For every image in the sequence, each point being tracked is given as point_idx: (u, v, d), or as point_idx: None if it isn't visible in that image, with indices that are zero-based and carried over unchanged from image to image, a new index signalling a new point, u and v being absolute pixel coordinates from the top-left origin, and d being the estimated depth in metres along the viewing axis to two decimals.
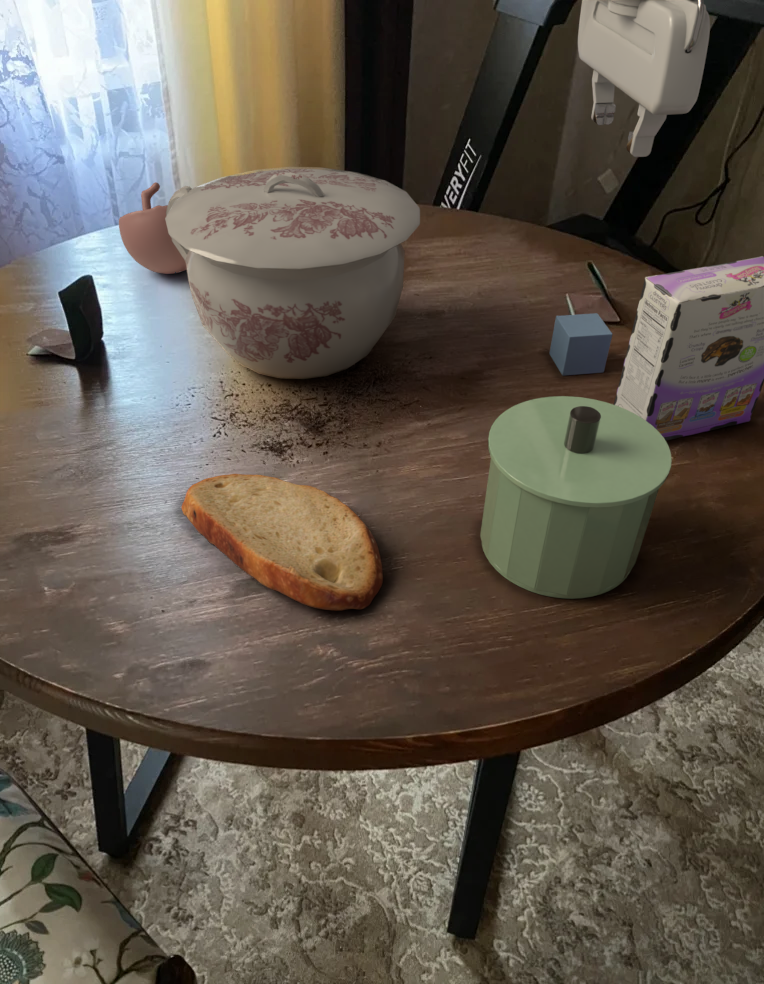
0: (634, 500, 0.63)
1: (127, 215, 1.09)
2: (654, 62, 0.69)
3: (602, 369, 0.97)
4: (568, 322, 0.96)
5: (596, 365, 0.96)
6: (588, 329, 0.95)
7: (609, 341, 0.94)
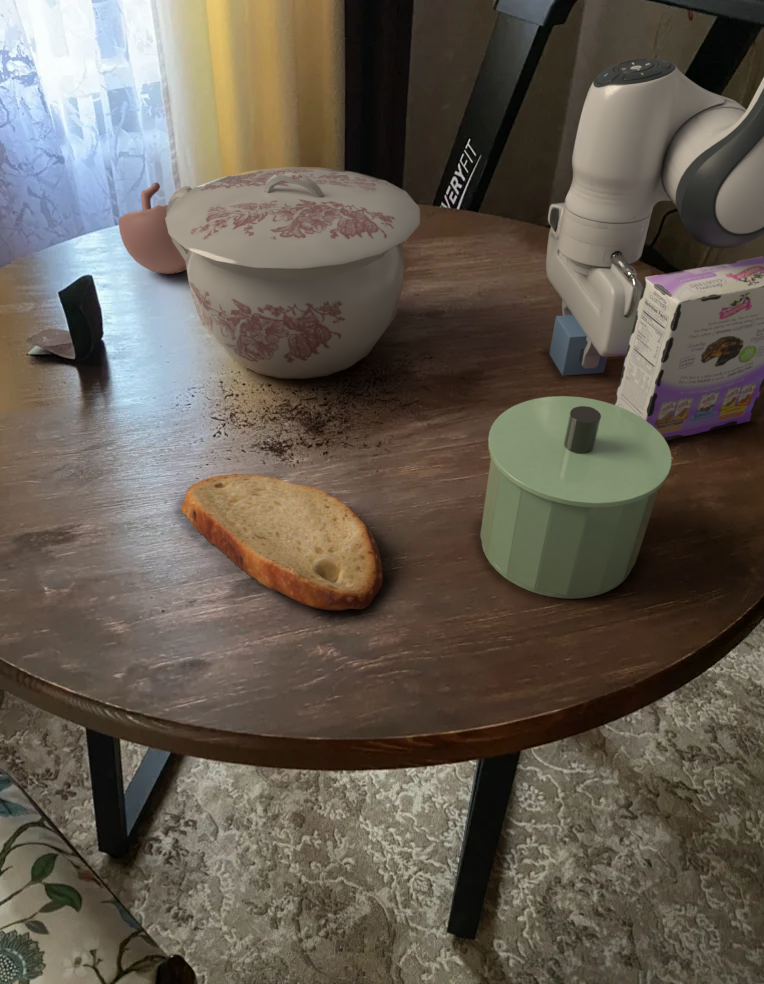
0: (634, 500, 0.63)
1: (127, 215, 1.09)
2: (601, 319, 0.86)
3: (602, 369, 0.97)
4: (568, 323, 0.96)
5: None
6: None
7: None
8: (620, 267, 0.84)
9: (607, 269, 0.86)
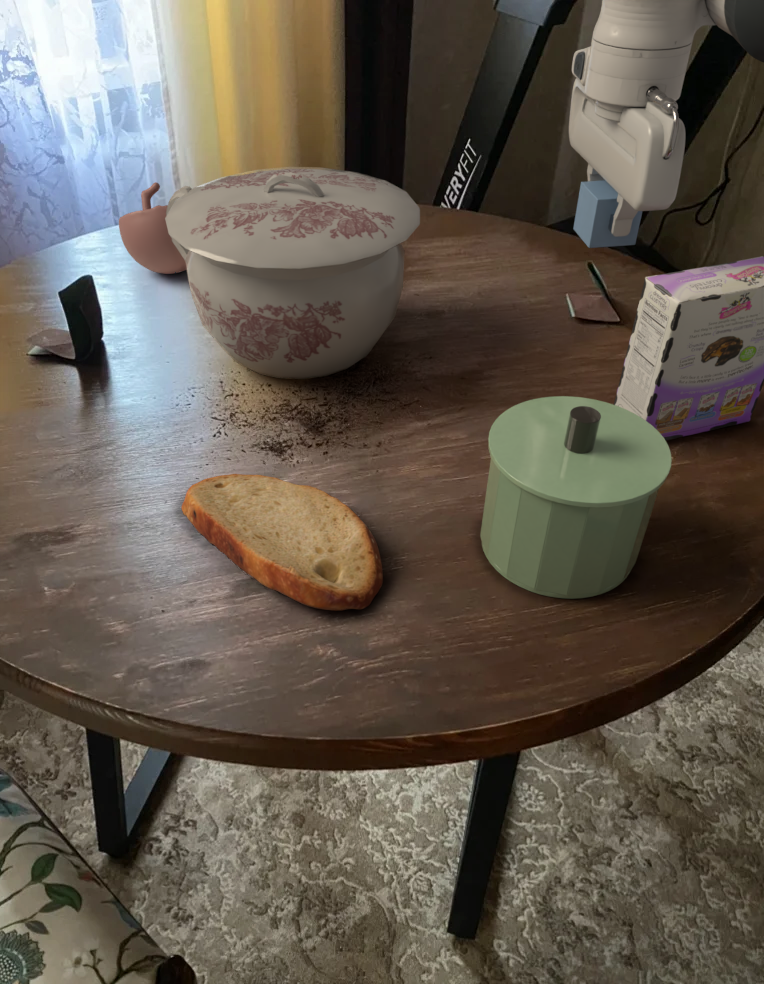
0: (634, 500, 0.63)
1: (127, 215, 1.09)
2: (636, 166, 0.76)
3: (633, 240, 0.86)
4: (594, 187, 0.85)
5: (627, 235, 0.86)
6: None
7: None
8: (658, 101, 0.73)
9: (642, 109, 0.76)
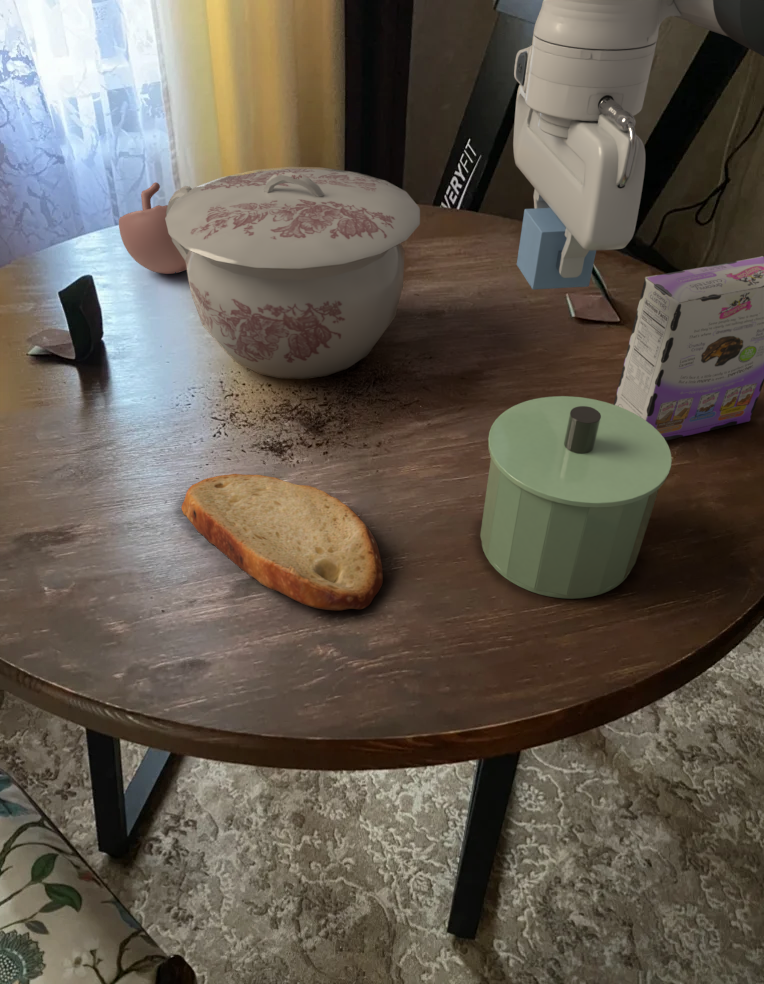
0: (634, 500, 0.63)
1: (127, 215, 1.09)
2: (585, 194, 0.61)
3: (587, 281, 0.71)
4: (540, 216, 0.70)
5: None
6: None
7: None
8: (611, 115, 0.58)
9: (593, 124, 0.61)
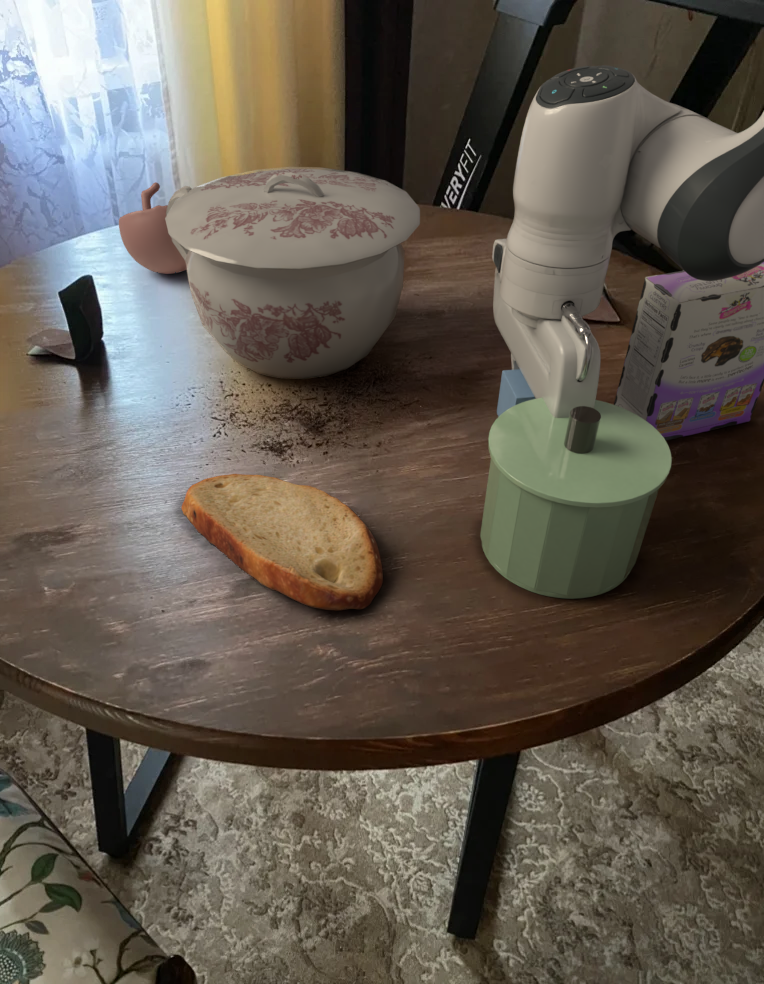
0: (634, 500, 0.63)
1: (127, 215, 1.09)
2: (550, 382, 0.71)
3: None
4: (515, 379, 0.81)
5: None
6: None
7: None
8: (571, 321, 0.69)
9: (557, 322, 0.71)
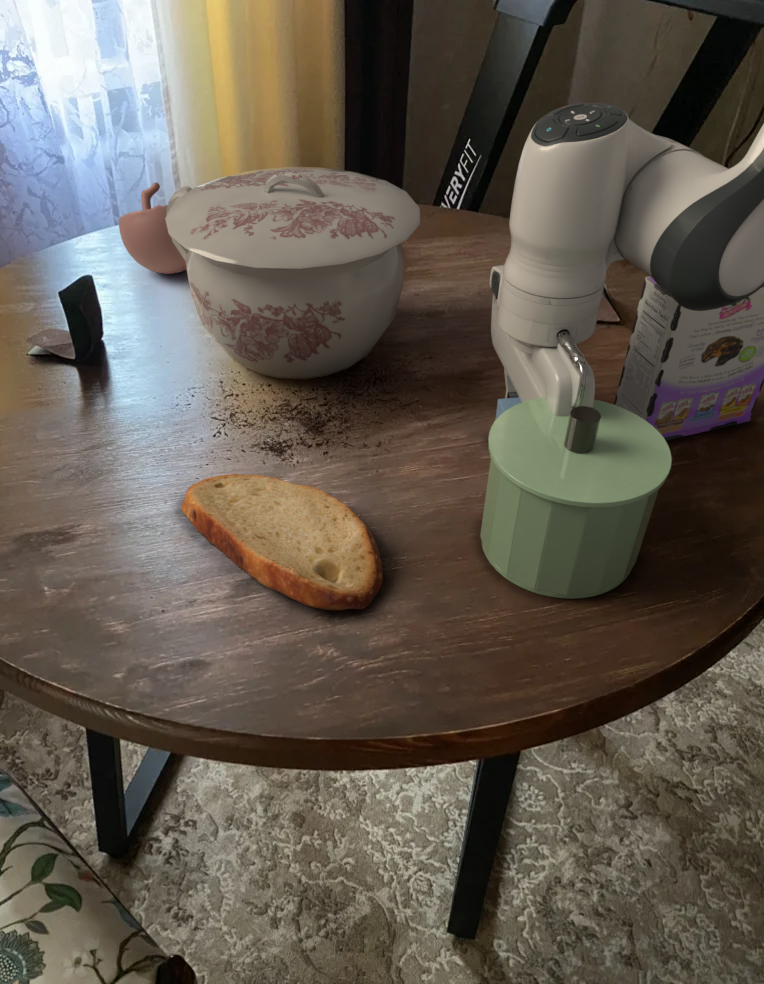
0: (634, 500, 0.63)
1: (127, 215, 1.09)
2: None
3: None
4: None
5: None
6: None
7: None
8: (566, 350, 0.70)
9: (553, 349, 0.73)
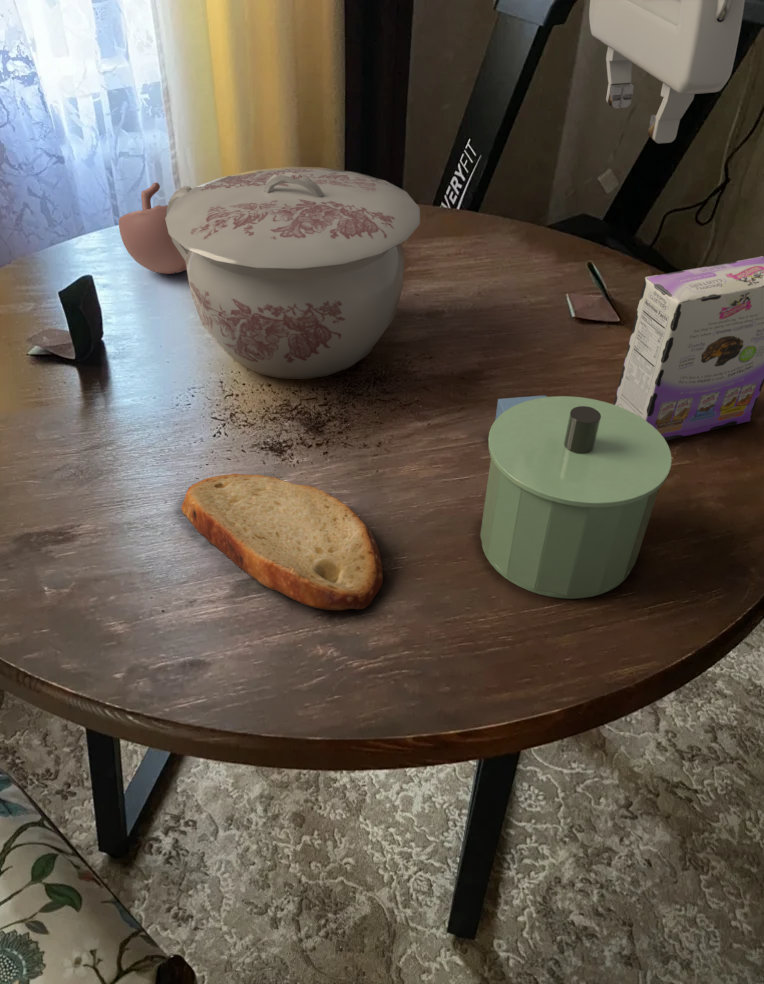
0: (634, 500, 0.63)
1: (127, 215, 1.09)
2: (681, 34, 0.60)
3: None
4: None
5: None
6: None
7: None
8: None
9: None
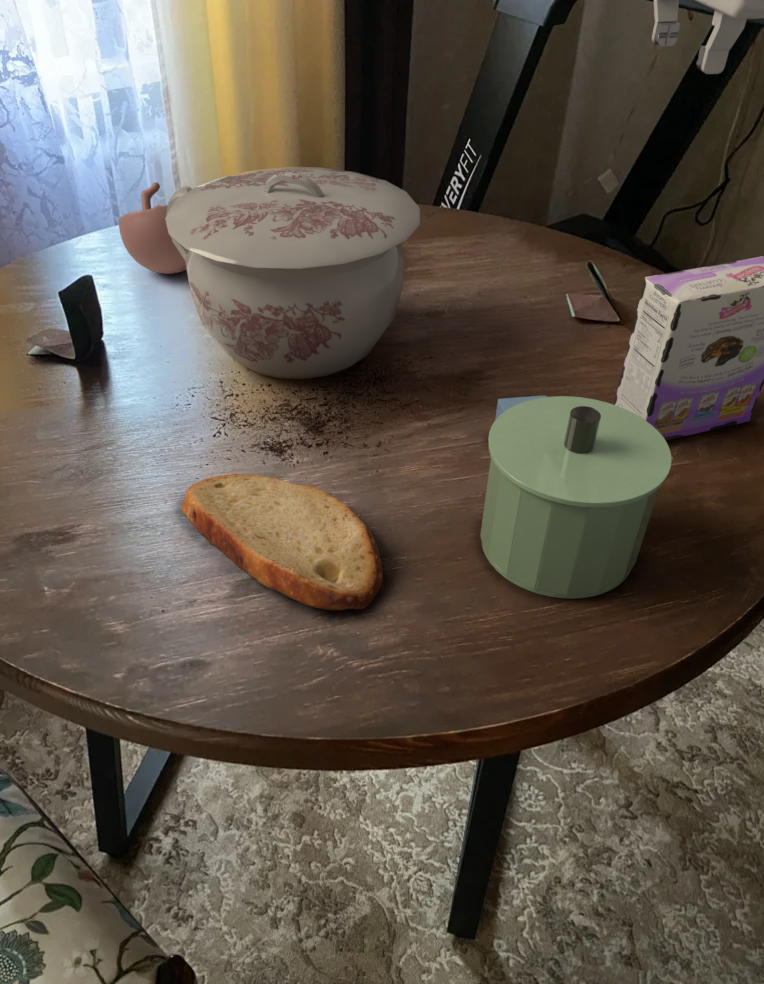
0: (634, 500, 0.63)
1: (127, 215, 1.09)
2: None
3: None
4: None
5: None
6: None
7: None
8: None
9: None
